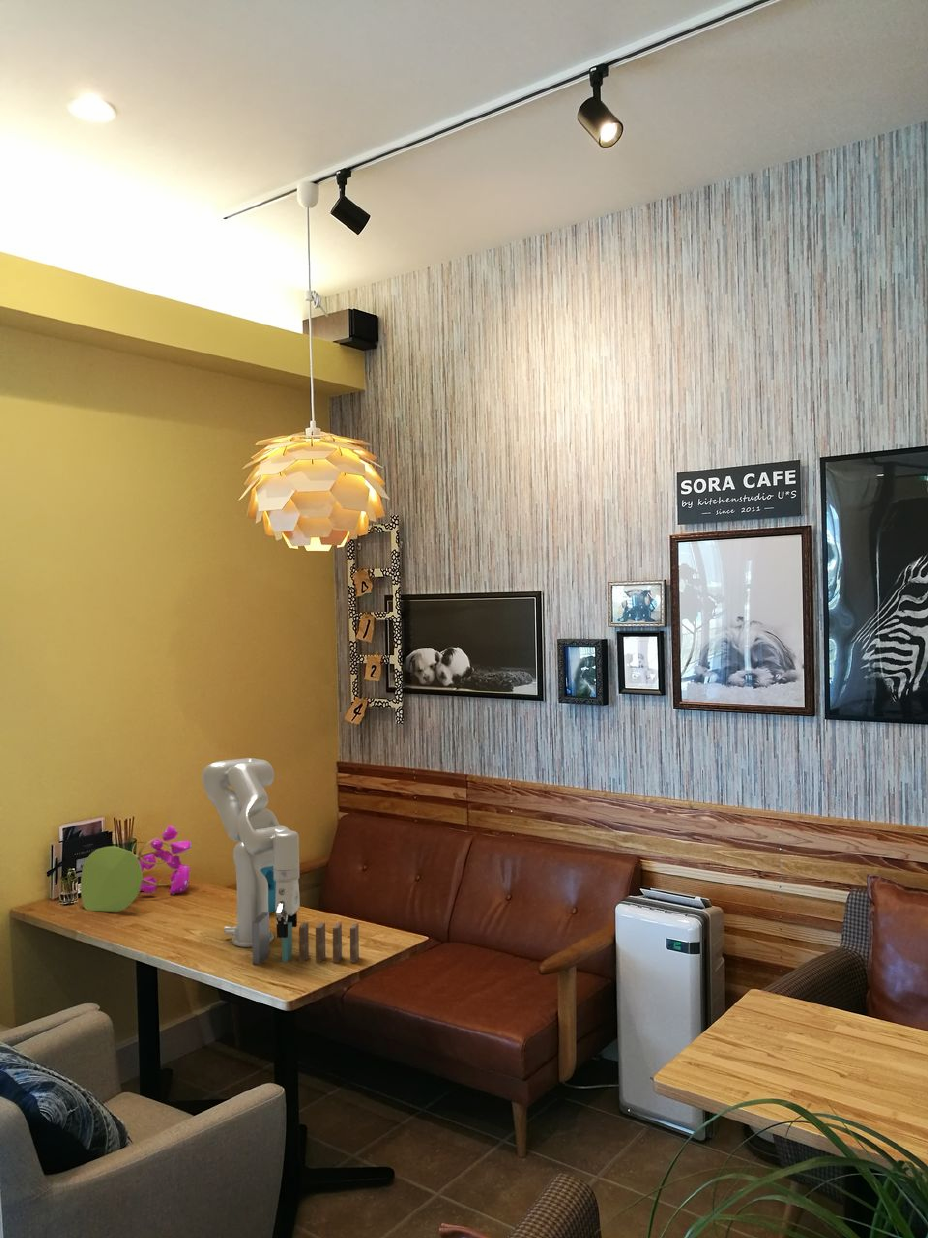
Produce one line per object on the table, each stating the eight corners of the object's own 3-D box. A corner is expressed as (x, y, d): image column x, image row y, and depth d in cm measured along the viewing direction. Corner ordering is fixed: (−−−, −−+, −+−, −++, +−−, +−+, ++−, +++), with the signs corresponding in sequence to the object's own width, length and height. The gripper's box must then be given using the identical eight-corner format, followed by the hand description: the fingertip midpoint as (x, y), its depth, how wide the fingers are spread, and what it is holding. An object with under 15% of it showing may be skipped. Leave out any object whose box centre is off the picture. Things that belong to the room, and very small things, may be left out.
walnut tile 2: (333, 962, 276) (332, 928, 276) (336, 956, 281) (336, 922, 281) (338, 962, 276) (338, 928, 276) (342, 956, 281) (341, 922, 281)
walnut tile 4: (299, 962, 277) (298, 927, 277) (303, 956, 282) (303, 922, 282) (304, 962, 277) (304, 927, 277) (308, 956, 282) (308, 922, 282)
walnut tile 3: (316, 962, 276) (315, 928, 276) (320, 956, 281) (319, 922, 281) (321, 962, 276) (321, 928, 276) (325, 956, 281) (325, 922, 281)
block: (255, 917, 320) (254, 857, 320) (246, 914, 323) (245, 855, 323) (283, 908, 329) (283, 850, 329) (274, 906, 332) (274, 848, 332)
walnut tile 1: (350, 963, 276) (349, 928, 276) (353, 957, 281) (353, 923, 281) (355, 963, 275) (355, 928, 275) (358, 957, 280) (358, 923, 280)
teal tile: (292, 955, 282) (291, 922, 282) (287, 961, 277) (287, 927, 277) (287, 955, 282) (286, 922, 282) (282, 961, 277) (281, 927, 277)
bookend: (252, 964, 275) (252, 922, 275) (263, 952, 285) (262, 912, 285) (259, 964, 275) (259, 922, 275) (269, 952, 285) (269, 912, 285)
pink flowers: (87, 820, 336) (156, 815, 367) (64, 898, 335) (135, 887, 367) (149, 849, 323) (215, 842, 354) (125, 931, 322) (193, 916, 354)
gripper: (291, 882, 271) (291, 942, 271) (306, 866, 288) (306, 923, 288) (265, 881, 271) (265, 941, 271) (281, 866, 289) (282, 922, 289)
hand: (287, 932), depth 280 cm, fingers open, 9 cm apart
